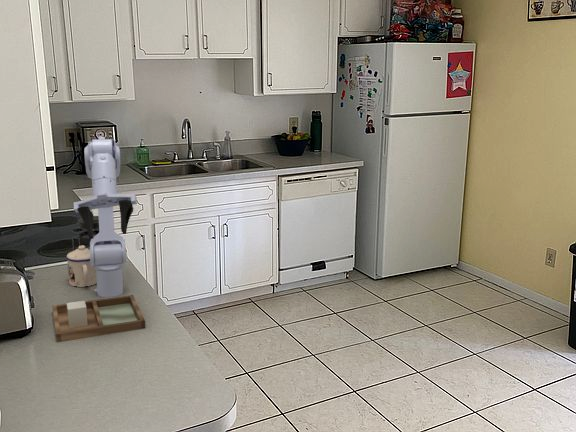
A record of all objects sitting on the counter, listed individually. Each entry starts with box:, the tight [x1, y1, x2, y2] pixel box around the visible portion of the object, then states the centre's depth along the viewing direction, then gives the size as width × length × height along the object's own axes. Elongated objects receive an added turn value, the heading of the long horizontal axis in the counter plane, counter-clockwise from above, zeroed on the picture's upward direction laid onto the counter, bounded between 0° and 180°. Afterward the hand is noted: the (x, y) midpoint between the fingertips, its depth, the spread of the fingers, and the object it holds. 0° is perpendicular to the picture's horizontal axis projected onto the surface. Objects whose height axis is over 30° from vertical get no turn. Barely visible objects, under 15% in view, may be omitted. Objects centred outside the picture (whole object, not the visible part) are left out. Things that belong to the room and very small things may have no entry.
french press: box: [71, 209, 99, 251], centre depth 189 cm, size 12×9×23 cm
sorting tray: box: [51, 294, 147, 343], centre depth 153 cm, size 18×21×3 cm
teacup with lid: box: [65, 244, 97, 288], centre depth 178 cm, size 12×9×12 cm
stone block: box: [66, 300, 88, 328], centre depth 151 cm, size 4×4×5 cm
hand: (107, 234), depth 139 cm, fingers open, 7 cm apart
